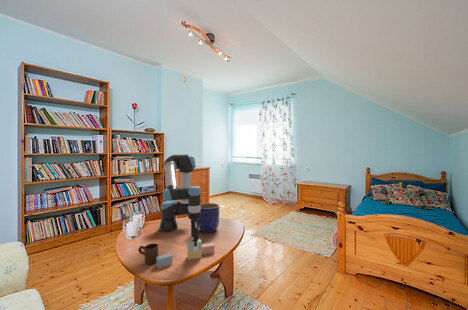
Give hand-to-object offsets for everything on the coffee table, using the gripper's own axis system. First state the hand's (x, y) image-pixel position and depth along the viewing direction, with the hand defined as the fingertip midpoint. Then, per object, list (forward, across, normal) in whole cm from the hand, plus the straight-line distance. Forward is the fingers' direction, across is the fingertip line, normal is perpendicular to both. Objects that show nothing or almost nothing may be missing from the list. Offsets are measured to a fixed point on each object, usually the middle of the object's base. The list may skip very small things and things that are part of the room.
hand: (194, 249), depth 131 cm
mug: (+5, -4, -27) cm, 28 cm away
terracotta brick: (+5, -3, +9) cm, 11 cm away
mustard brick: (+5, 0, 0) cm, 5 cm away
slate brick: (+5, +3, -18) cm, 19 cm away
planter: (+5, -41, +18) cm, 45 cm away
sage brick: (0, 0, 0) cm, 0 cm away
